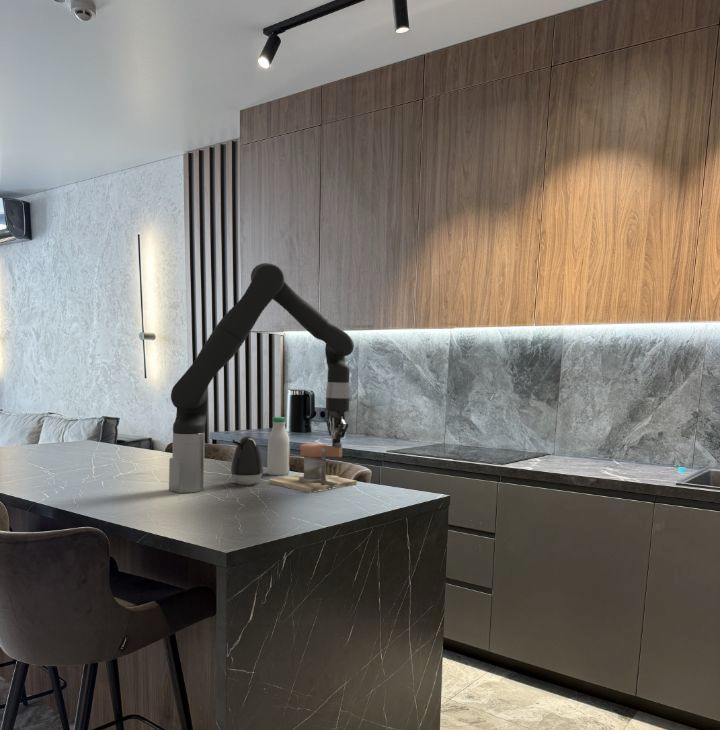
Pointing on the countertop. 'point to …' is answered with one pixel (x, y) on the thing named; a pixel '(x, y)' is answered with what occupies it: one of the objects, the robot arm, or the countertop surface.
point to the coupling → (316, 450)
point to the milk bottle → (278, 448)
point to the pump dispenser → (246, 462)
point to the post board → (309, 486)
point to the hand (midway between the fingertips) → (335, 450)
